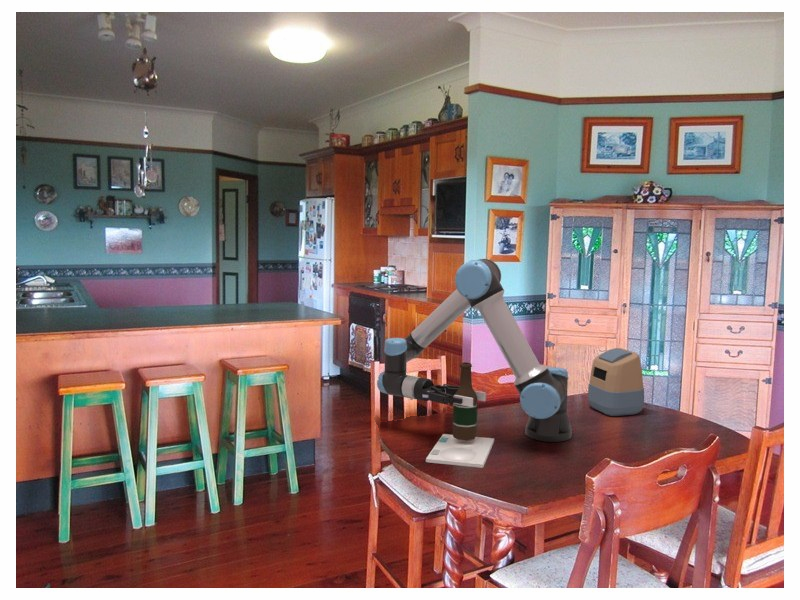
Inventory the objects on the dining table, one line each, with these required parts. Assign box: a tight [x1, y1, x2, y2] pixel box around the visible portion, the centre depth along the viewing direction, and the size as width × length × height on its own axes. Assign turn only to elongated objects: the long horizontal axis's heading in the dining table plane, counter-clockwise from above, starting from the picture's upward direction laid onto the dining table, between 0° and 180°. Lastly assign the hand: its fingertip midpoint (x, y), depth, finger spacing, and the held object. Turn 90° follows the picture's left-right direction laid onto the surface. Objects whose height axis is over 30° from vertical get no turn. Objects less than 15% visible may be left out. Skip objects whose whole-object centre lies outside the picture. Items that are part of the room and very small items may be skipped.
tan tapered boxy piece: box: [587, 347, 645, 417], centre depth 243 cm, size 17×17×23 cm
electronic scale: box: [425, 433, 495, 469], centre depth 200 cm, size 17×24×1 cm
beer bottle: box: [452, 362, 478, 441], centre depth 204 cm, size 8×8×24 cm
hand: (479, 399), depth 201 cm, fingers closed on beer bottle, 7 cm apart
